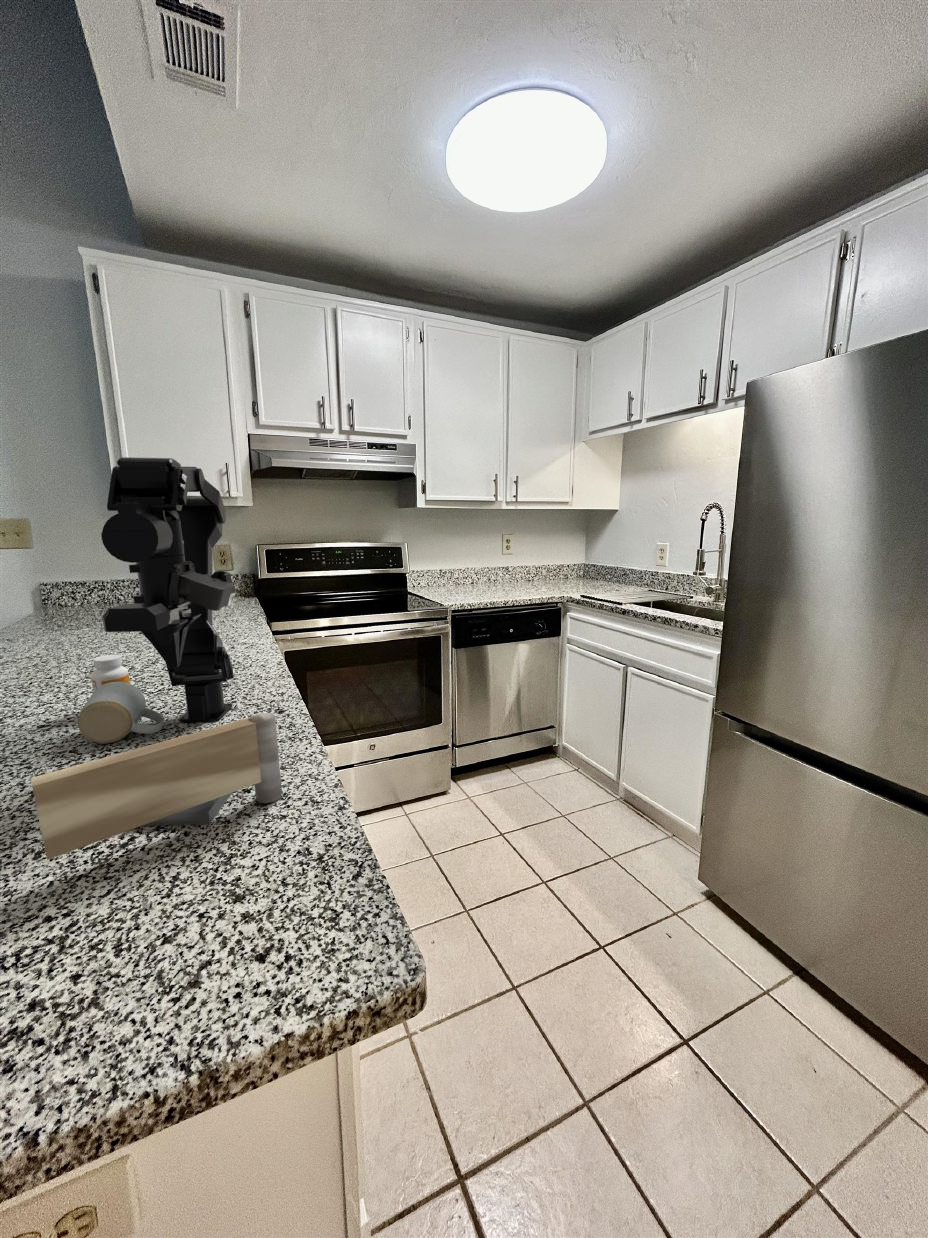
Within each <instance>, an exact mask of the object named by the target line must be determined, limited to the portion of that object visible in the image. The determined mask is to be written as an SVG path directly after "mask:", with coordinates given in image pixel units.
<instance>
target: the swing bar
mask: <svg viewBox="0 0 928 1238" xmlns="http://www.w3.org/2000/svg"><path fill="white" fill-rule="evenodd" d="M278 743H279V742H278V734H277V722H276V714H274V713H272V712H261V713H255V714H252V715H251V716H249V717H248V718H243V719H239V720H236V721H233V722H229V723H225V724H222V725H221V724H220V725H218V726H215V727H212V728H207V729H203V730H201V731H197V732H192V733H189V734H186V735H182V736H178V737H174V738H171V739H168V740H164V741H160V742H157V743H153V744H150V745H145V746H142V747H139V748H135V749H132V750H127V751H123V752H120V753H117V754H113V755H110V756H106V757H102V758H98V759H95V760H92V761H91V760H90V761H87V762H84V763H80V764H77V765H72V766H70V767H69V766H68V767H66V768H63V769H59V770H55V771H52V772H48V773H43V774H40V775H38V776H34V777H30V782H31V787H32V791H33V796H34V801H35V807H36V811H37V815H38V817H37V818H38V820H39V827H40V831H41V837H42V840H43V841H42V842H43V845H44V846H43V847H44V852H45V855H46V860H47V861H49V860H50V859H53V858H57V857H59V856H62V855H65V854H68V853H70V852H73V851H76V850H78V849H81V848H83V847H86V846H89V845H92V844H95V843H97V842H100V841H103V840H107V839H110V838H111V837H114V836H117V835H119V834H122V833H125V832H128V831H130V830H133V829H135V828H138V827H143V826H142V825H145V824H147V823H150V822H153V821H156V820H158V819H161V818H164V817H166V816H169V815H172V814H175V813H177V812H180V811H183V810H186V809H188V808H191V807H194V806H197V805H199V804H202V803H205V802H208V801H210V800H213V799H216V798H219V797H221V796H224V795H227V794H230V793H232V794H233V793H234V792H238V791H240V790H243V789H246V788H248V787H251V786H253V785H254V791H255V793H254V794H255V801H256V802H258V803H259V804H268V803H270V804H271V803H274V802H277V800H279V799H281V798H282V796H283V789H282V779H281V767H280V755H279V744H278Z"/></svg>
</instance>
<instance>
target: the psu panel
mask: <svg viewBox="0 0 928 1238" xmlns="http://www.w3.org/2000/svg"><path fill="white" fill-rule="evenodd" d="M232 794H233V792H232V793H230V794H227V795H224V796H221V797H219V798H216V799H213V800H210V801H208V802H205V803H202V804H199V805H197V806H194V807H191V808H188V809H186V810H183V811H180V812H177V813H175V814H172V815H169V816H166V817H164V818H161V819H158V820H156V821H153V822H150V823H147V824H145V825H142V826H141V827H161V826H165V827H166V826H186V825H187V826H188V825H192V826H193V825H210V824H211V823H212V822H213V820H214V819H215V817H216V816H217V815H218V813H219V812H220V810H221V809H222V808H223V806H224V805H225V804H226V802H227V801H228V799H229V798H230V796H231V795H232Z"/></svg>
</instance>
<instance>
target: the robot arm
mask: <svg viewBox="0 0 928 1238" xmlns="http://www.w3.org/2000/svg"><path fill="white" fill-rule="evenodd" d="M205 478H206V477H205V475H204V472H203V469H202V468H200V467H197V466H182V465H181V463H180V462H178V461H177V460H176V459H175V458H172V457H171V458H170V457H166V458H165V457H127V456H125V457H119V458H118V459H117V460H116V466H113V467H112V469H111V476H110V482H109V489H108V490H109V491H108V496H107V497H108V498H107V503H106V508H107V511H108V512H117V513H116V514H114V515H113V516H110V518H108V519H107V520H106V522H105V523H104V525H103V527H102V531H101V533H100V535H101V541H102V545H103V546H104V548H105V549H106V551H107V553H109V555H111V556H112V557H114V558H115V559H116V560H119V561H121V562H125V563H129V564H128V569H129V573H130V574H131V573H133V574H136V573H137V579H138V587H139V594H137V595H134V596H133V602H134V603H123V604H120V605H117V606H116V605H115V606H113V607H110V608H108V609H107V610H106V611H105V612H104V614H103V615H101V618H102V624H103V625H102V626H103V631H104V632H105V633H129V632H131V633H132V632H133V633H134V632H135V633H136V632H141V634H142V635H143V636H144V637H145V638H146V640H147V641H148V642H150V644H151V645H152V646H153V647H154V649H155V650H156V651H157V653H158V655H160V656H161V658H162V659H163V661H164V663H165V664H166V665H165V666H166V669H167V670H166V671H167V674H168V676H169V681H170V684H171V687H177V686H178V687H179V686H184V695H185V696H184V697H185V703H186V710H187V711H186V712H185V713H184V714H183V715H182V716H180V717H179V718H178V720H179V722H208V721H209V722H213V721H219V720H221V718H223V716H225V715H226V714H227V713H228V712H229V711H230V710H231V709H232V708H233V703H225V697H224V691H223V683H228V681H230V680H232V679H234V678H235V675H234V668H233V667H234V666H233V664H232V660H231V656H230V655H229V653H228V651H227V650H226V649H227V648H226V647H225V646H224V645H223V644H224V643H223V640H222V638H221V636H220V635H219V634H218V633H217V631H216V630H215V628H214V626H213V612H214V611H215V612H216V611H220V610H221V609H222V608H224V607H228V606H229V602H230V598H231V595H232V594H235V593H236V589H235V582H233V580H232V576H231V575H232V574H231V573H230V572H229V571H225V570H223V569H219V570H215V571H214V572H213V548H214V547H215V546H216V544H217V543H218V542H219V541H220V539H221V538H222V536H223V524H226V521H227V520H226V519H227V517H226V516H227V515H226V510H225V509H226V508H225V504H224V502H223V498H222V496H221V492H220V490H219V489H217V488H216V487H215V486H214V485H213V484H212V483H210V482H209V481H208V480H206V479H205ZM189 493H199V495H200V497H188V494H189ZM130 563H132V564H130ZM133 563H134V564H133Z"/></svg>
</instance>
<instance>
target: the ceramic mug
mask: <svg viewBox="0 0 928 1238" xmlns="http://www.w3.org/2000/svg"><path fill="white" fill-rule="evenodd" d="M146 704H147V701H146V697H145V696H144V694H143V693H142V691H141V690H140V689H139V688H138V687H137V686H135V685H133V684H131V683H130V684H128V683H125V682H110V683H106V684H104V685H102V686H100V687H99V688H97V689H96V690H95V692H94V693H92V694H91V695H90V697H89V699H88V700H87V701H86V702H85V704H84V706H83V707H82V708H81V710H80V711H79V714H78V718H77V726H78V729H79V732H80V733H81V735H82V736H84V737H85V738H86V739H87V740H89V741H91V742H93V743H97V744H112V743H115V742H119V741H120V740H122V739H123V738H125V737H126V736H127V735H128V734H129V733H130V732H134V733H136V734H144V735H145V734H146V735H149V734H155V733H158V732H160V731H161V730H162V729H163V726H164V724H165V720H166V719H165V717H164V715H162V714H161V713H160V712H158V711H156V710H154V709H152V708H148V707H146ZM142 717H143V718H146V719H149V720H151V721H153V722H155V723H156V724H144V723H140V722H139V721H140V720H141V718H142Z"/></svg>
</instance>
